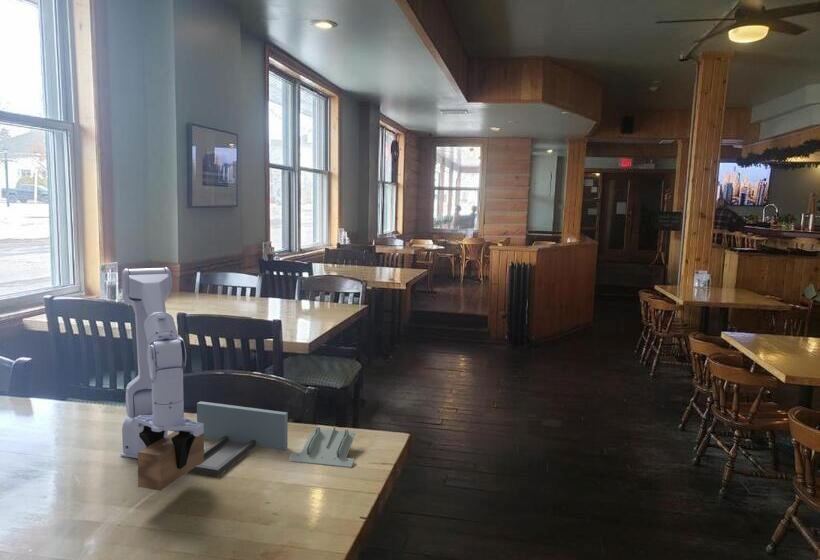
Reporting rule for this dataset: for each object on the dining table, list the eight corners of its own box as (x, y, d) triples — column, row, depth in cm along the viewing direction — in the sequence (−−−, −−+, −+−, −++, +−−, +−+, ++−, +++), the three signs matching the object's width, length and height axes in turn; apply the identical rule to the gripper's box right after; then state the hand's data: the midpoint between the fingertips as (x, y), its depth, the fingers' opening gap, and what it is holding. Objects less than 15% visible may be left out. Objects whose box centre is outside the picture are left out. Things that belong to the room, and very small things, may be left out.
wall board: (153, 466, 129) (152, 427, 128) (201, 435, 146) (200, 401, 145) (249, 481, 123) (249, 441, 122) (287, 447, 141) (287, 412, 139)
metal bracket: (305, 419, 144) (363, 424, 142) (307, 438, 147) (365, 443, 145) (285, 458, 131) (349, 465, 129) (288, 478, 134) (350, 485, 132)
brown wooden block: (138, 486, 110) (137, 451, 110) (183, 457, 124) (183, 426, 123) (160, 490, 109) (160, 455, 108) (203, 461, 123) (203, 429, 122)
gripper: (122, 402, 111) (124, 468, 113) (187, 411, 108) (189, 479, 110) (146, 390, 118) (148, 453, 120) (209, 398, 115) (210, 463, 117)
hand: (169, 464), depth 115 cm, fingers closed on brown wooden block, 5 cm apart
